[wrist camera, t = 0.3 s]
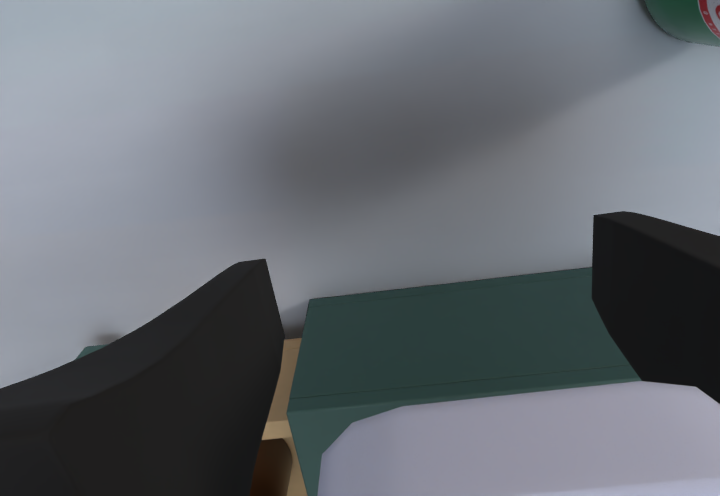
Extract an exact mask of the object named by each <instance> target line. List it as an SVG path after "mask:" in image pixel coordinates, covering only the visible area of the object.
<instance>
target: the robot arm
mask: <svg viewBox="0 0 720 496" xmlns="http://www.w3.org/2000/svg"><path fill="white" fill-rule="evenodd" d="M592 300H593V302H594V304H595V307H596V309H597V311H598V313H599V315H600V317H601V319H602V321H603V323H604V325H605V327H606V329H607V331H608V333H609V335H610V336H611V338H612V339H613V341H614V342H615V343H616V345H617V346H618V348H619V349H620V351H621V352H622V353H623V355H624V356H625V358H626V359H627V361H628V362H629V363H630V365H631V366H632V368H633V369H634V370H635V372H636V373H637V375H638V376H639V377H640V379H641V380H642V381H636V382H626V383H617V384H607V385H598V386H589V387H579V388H570V389H560V390H551V391H541V392H532V393H523V394H513V395H504V396H494V397H485V398H476V399H466V400H457V401H447V402H438V403H429V404H419V405H410V406H402V407H399V408H395V409H392V410H389V411H386V412H383V413H380V414H377V415H374V416H371V417H368V418H365V419H362V420H359V421H356V422H353V423H351V424H350V426H349V427H348V428H347V429H346V430H345V431H344V432H343V433H342V434H341V435H340V436H339V437H338V438H337V439H336V440H335V441H334V442H333V443H332V444H331V446H330V447H329V448H328V449H327V450H326V451H325V452H324V453H323V454H322V459H321V468H320V477H319V486H318V494H317V496H720V236H717V235H713V234H710V233H706V232H703V231H699V230H696V229H692V228H689V227H685V226H682V225H678V224H675V223H672V222H668V221H665V220H661V219H658V218H654V217H650V216H646V215H642V214H638V213H633V212H625V211H622V212H614V213H607V214H599V215H594V222H593V261H592ZM284 336H285V334H284V331H283V327H282V323H281V319H280V315H279V311H278V307H277V303H276V299H275V295H274V291H273V287H272V283H271V279H270V275H269V271H268V267H267V263H266V259H259V260H251V261H244V262H238V263H236V264H234V265H232V266H231V267H229V268H227V269H226V270H224V271H223V272H221V273H220V274H218V275H217V276H216V277H214V278H213V279H211V280H210V281H209V282H207V283H206V284H204V285H203V286H202V287H200V288H199V289H197V290H196V291H195V292H193V293H192V294H190V295H189V296H188V297H186V298H185V299H183V300H182V301H180V302H179V303H177V304H176V305H174V306H173V307H171V308H170V309H168V310H167V311H165V312H164V313H162V314H161V315H159V316H158V317H156V318H155V319H153V320H152V321H150V322H148V323H147V324H145V325H143V326H142V327H140V328H138V329H137V330H135V331H133V332H131V333H129V334H128V335H126V336H124V337H122V338H120V339H118V340H116V341H114V342H113V343H111V344H109V345H107V346H105V347H103V348H101V349H98V350H96V351H94V352H92V353H89V354H87V355H85V356H83V357H81V358H78V359H76V360H74V361H72V362H69V363H67V364H65V365H63V366H60V367H58V368H56V369H53V370H51V371H48V372H45V373H43V374H40V375H38V376H35V377H32V378H30V379H27V380H24V381H21V382H18V383H15V384H13V385H10V386H7V387H4V388H1V389H0V496H250V490H251V484H252V478H253V472H254V468H255V463H256V459H257V454H258V451H259V447H260V444H261V440H262V436H263V433H264V429H265V426H266V422H267V419H268V415H269V412H270V408H271V404H272V401H273V397H274V394H275V390H276V386H277V382H278V379H279V375H280V371H281V363H282V355H283V346H284Z"/></svg>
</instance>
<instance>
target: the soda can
mask: <svg viewBox="0 0 720 496" xmlns="http://www.w3.org/2000/svg"><path fill="white" fill-rule="evenodd" d="M645 2H646V6H647V8H648V10H649V12H650V14H651V16H652V18H653V19H654V20H655V22H656V23H657V24H658V25H659V26H660V27H661V28H662V29H663V30H664V31H665V32H667V33H668V34H670V35H671V36H673V37H675V38H677V39H680V40H683V41H686V42H690V43H697V44H704V45H711V46H718V47H720V0H645Z"/></svg>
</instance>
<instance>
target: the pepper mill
mask: <svg viewBox="0 0 720 496" xmlns="http://www.w3.org/2000/svg"><path fill="white" fill-rule="evenodd" d="M291 469H292V454H291V451H290V449H289V447H288V445H287V443H286V442H285V441H284V439H283V438H277V439H267V440H261V444H260V447H259V451H258V454H257V459H256V463H255V468H254V472H253V478H252V484H251V490H250V496H287V492H288V486H289V481H290V475H291Z"/></svg>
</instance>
